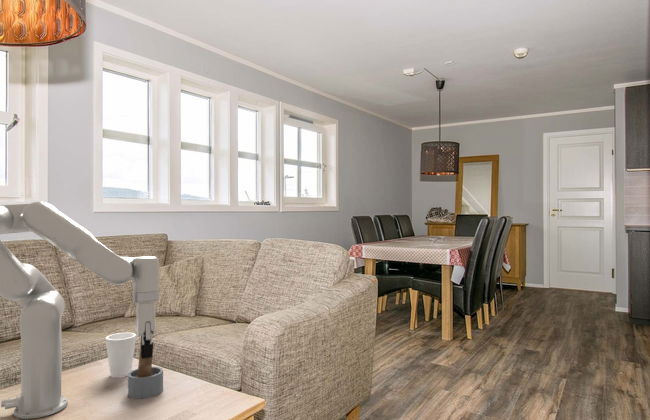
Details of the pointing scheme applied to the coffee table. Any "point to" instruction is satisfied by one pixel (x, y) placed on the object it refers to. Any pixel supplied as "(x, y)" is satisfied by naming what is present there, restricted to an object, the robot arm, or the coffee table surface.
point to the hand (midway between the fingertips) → (146, 355)
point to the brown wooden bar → (144, 365)
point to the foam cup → (120, 353)
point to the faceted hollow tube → (145, 384)
